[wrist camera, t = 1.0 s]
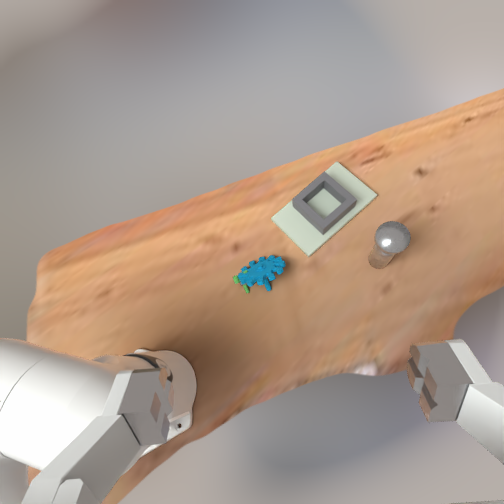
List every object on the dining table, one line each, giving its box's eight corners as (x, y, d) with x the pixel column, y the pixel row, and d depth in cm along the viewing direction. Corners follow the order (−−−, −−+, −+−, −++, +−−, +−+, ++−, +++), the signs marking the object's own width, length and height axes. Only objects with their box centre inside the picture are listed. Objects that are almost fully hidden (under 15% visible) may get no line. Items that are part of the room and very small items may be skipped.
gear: (283, 248, 73) (283, 272, 65) (291, 271, 76) (293, 297, 67) (234, 262, 76) (228, 286, 67) (244, 284, 78) (239, 310, 69)
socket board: (308, 257, 74) (308, 250, 69) (271, 220, 78) (269, 211, 73) (376, 197, 76) (380, 186, 71) (336, 164, 80) (338, 152, 75)
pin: (379, 278, 70) (394, 258, 58) (358, 258, 72) (368, 236, 60) (398, 260, 71) (417, 236, 58) (377, 241, 72) (391, 215, 60)
